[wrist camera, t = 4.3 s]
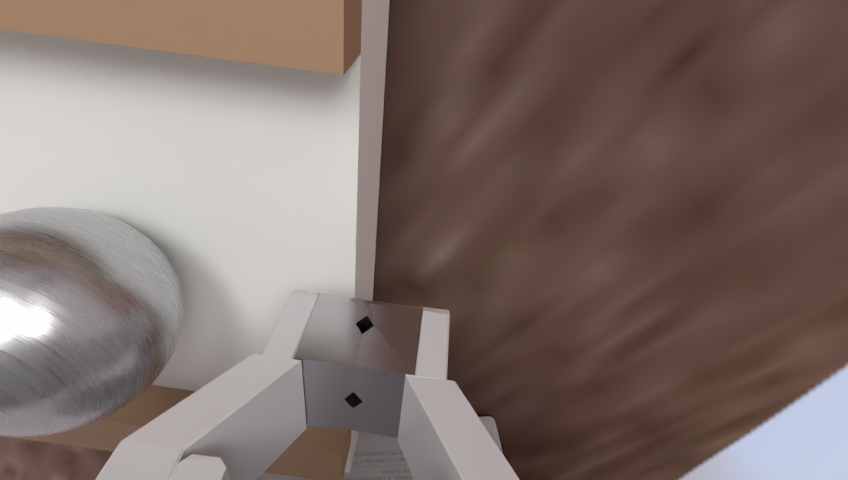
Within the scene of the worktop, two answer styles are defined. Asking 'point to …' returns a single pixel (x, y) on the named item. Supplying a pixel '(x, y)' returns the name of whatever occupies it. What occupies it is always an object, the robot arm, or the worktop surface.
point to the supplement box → (382, 457)
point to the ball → (79, 318)
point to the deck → (207, 164)
